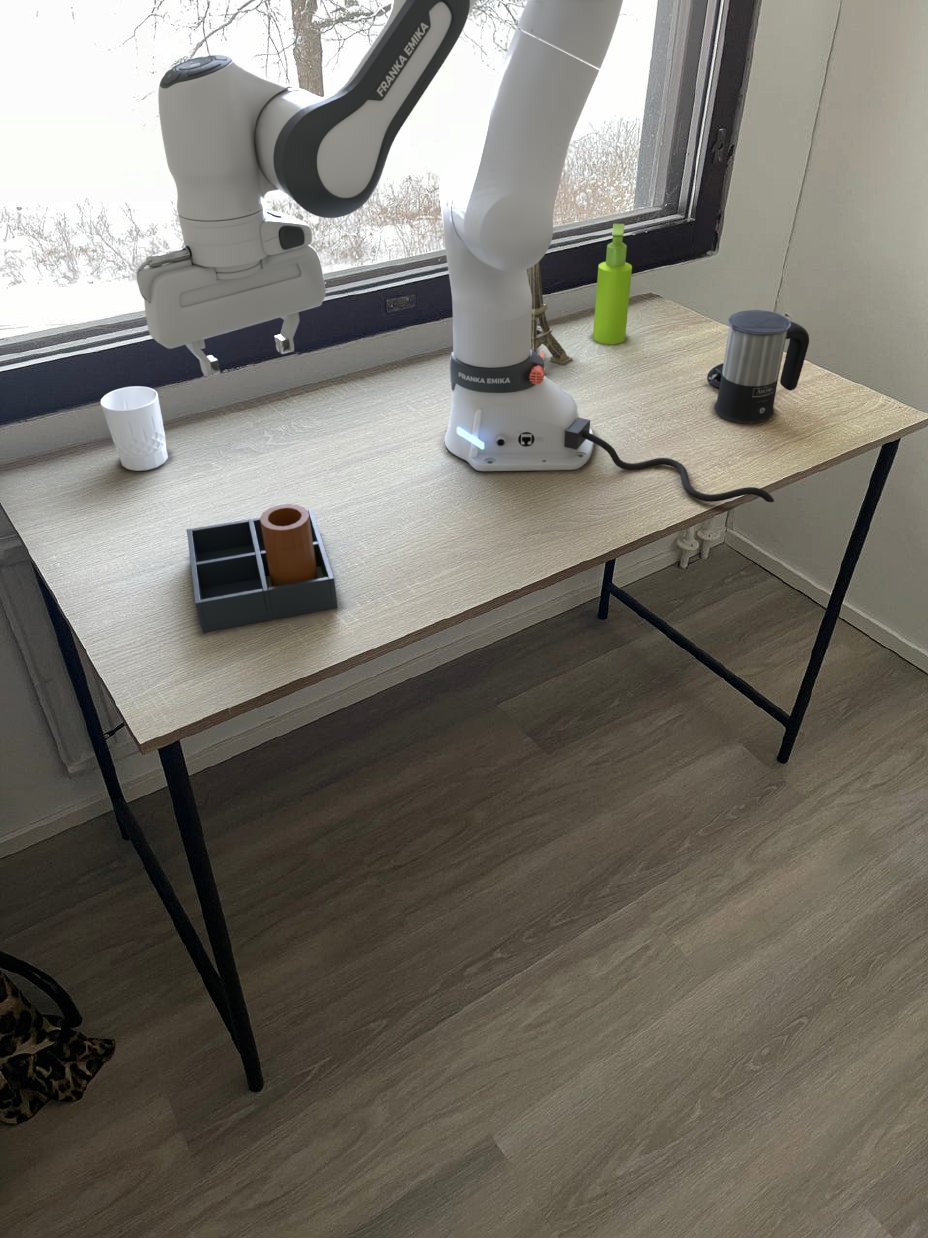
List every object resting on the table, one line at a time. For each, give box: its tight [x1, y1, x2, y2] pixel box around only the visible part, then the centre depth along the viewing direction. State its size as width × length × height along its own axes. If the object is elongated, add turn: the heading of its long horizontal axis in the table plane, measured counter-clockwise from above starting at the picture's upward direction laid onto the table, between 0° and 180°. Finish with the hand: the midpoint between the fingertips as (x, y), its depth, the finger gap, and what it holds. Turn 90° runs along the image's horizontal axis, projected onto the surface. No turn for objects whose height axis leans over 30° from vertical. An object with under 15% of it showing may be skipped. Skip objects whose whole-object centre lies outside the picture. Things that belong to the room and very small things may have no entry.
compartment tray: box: [186, 508, 338, 633], centre depth 114 cm, size 16×16×4 cm
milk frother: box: [706, 309, 810, 425], centre depth 148 cm, size 14×16×15 cm
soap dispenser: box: [592, 223, 633, 345], centre depth 166 cm, size 6×7×20 cm
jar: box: [259, 503, 318, 587], centre depth 110 cm, size 6×6×10 cm
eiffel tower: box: [527, 260, 573, 366], centre depth 157 cm, size 11×11×25 cm
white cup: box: [100, 385, 169, 472], centre depth 136 cm, size 8×8×10 cm
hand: (249, 362), depth 107 cm, fingers open, 8 cm apart
